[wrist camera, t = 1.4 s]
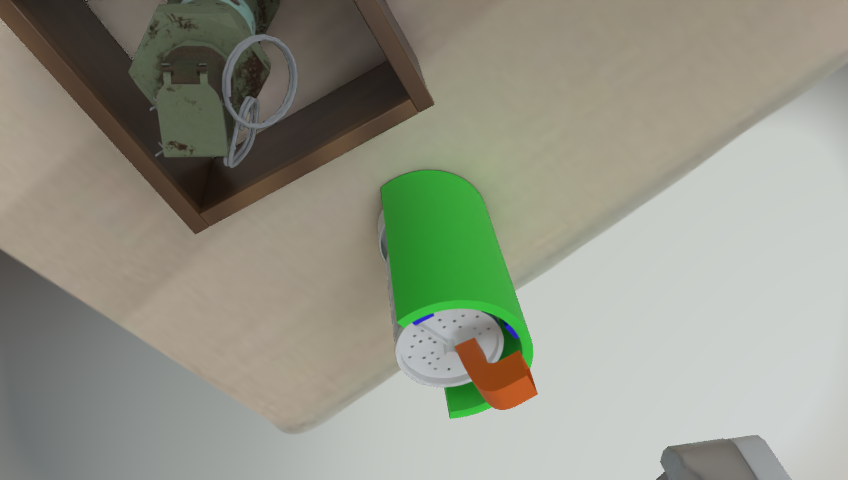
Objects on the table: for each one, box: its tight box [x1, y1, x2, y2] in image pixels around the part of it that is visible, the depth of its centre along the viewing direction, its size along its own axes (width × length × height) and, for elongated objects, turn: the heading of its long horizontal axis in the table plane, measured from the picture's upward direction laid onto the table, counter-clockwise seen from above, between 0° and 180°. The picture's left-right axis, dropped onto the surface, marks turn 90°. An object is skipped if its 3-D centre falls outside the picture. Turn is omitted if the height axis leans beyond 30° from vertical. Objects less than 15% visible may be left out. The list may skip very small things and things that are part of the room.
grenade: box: [128, 0, 298, 168], centre depth 36 cm, size 7×7×15 cm
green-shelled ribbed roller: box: [377, 170, 538, 418], centre depth 45 cm, size 9×8×18 cm
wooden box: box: [0, 0, 434, 234], centre depth 39 cm, size 16×16×7 cm
